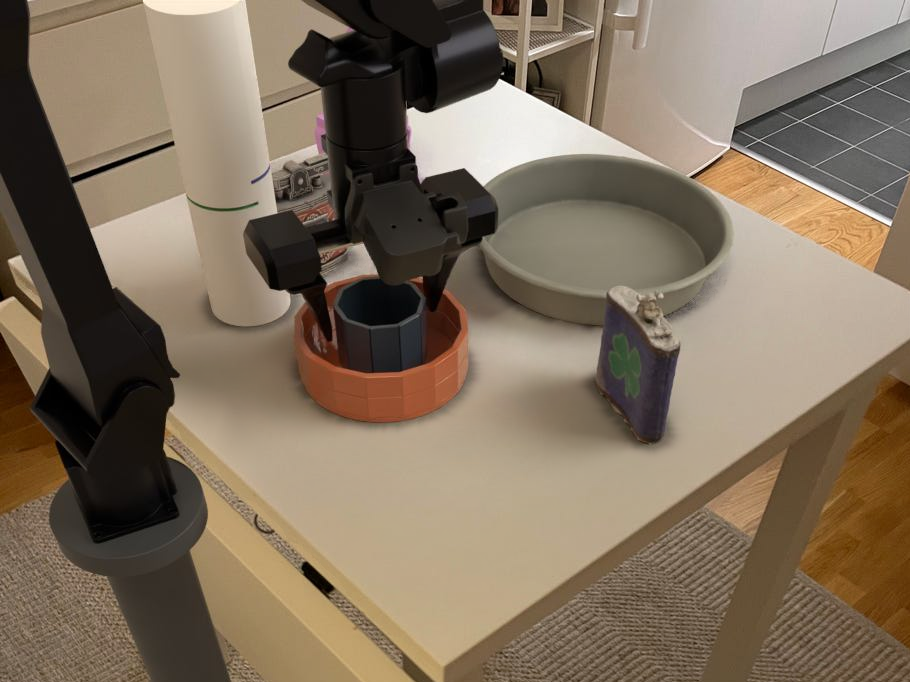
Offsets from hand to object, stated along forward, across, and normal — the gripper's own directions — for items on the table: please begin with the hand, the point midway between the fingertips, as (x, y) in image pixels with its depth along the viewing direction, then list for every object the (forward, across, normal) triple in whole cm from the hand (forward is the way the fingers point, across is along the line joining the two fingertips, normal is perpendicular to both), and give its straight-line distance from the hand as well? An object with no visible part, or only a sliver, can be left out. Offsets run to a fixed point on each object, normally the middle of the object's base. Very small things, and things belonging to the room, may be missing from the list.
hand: (380, 324), depth 82 cm
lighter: (+5, 0, +17) cm, 18 cm away
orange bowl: (+4, 0, 0) cm, 4 cm away
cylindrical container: (+5, -7, +14) cm, 16 cm away
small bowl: (+4, 0, 0) cm, 4 cm away
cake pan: (+5, +25, +6) cm, 26 cm away
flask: (+5, +16, -14) cm, 22 cm away
